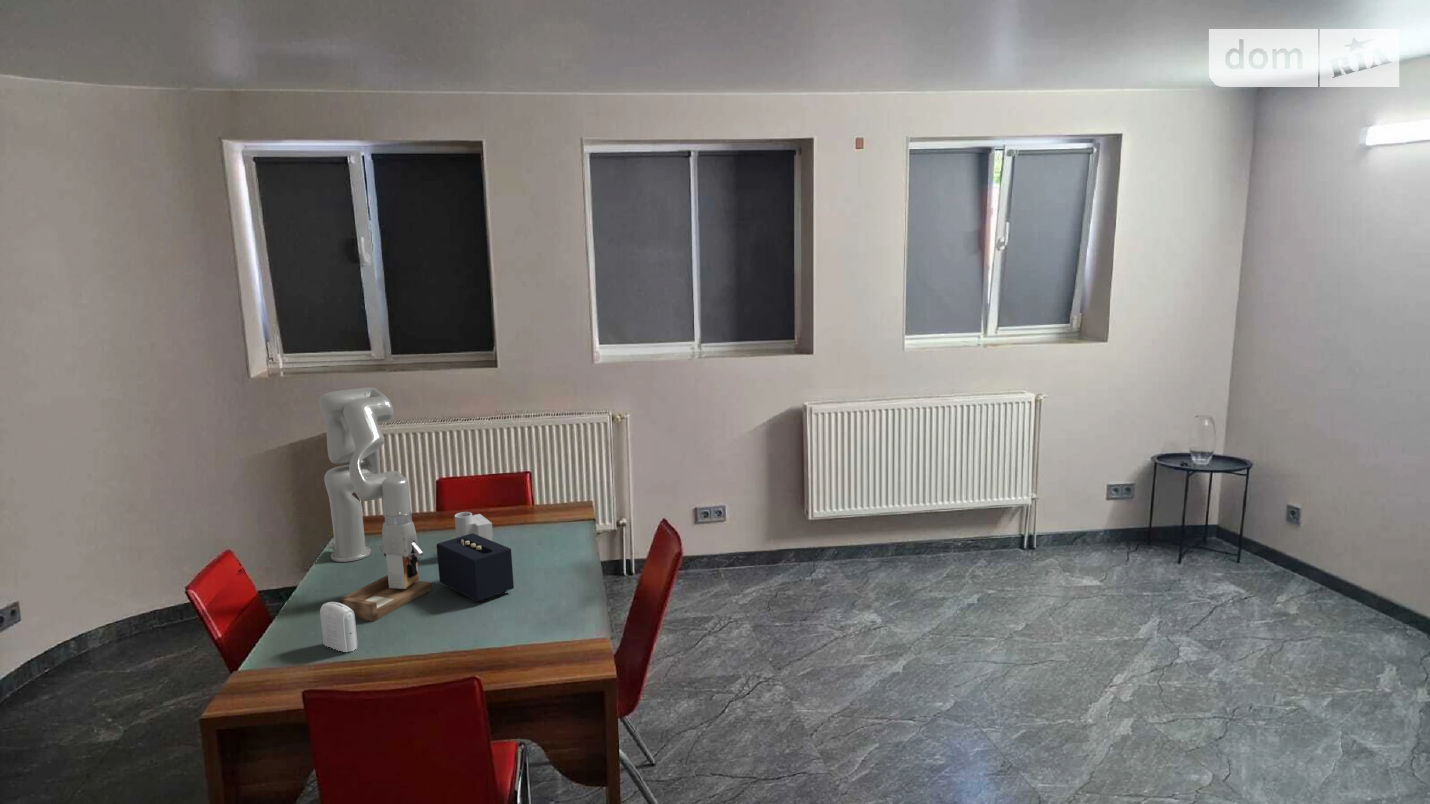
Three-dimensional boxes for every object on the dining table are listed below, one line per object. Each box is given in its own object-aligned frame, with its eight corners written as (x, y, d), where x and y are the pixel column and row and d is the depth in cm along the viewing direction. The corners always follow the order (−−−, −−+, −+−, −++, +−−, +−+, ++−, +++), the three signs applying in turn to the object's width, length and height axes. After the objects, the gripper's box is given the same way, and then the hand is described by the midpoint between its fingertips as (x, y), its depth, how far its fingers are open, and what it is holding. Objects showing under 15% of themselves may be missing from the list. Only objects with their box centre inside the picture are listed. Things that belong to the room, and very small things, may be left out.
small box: (405, 589, 247) (402, 556, 245) (388, 588, 249) (385, 555, 247) (419, 579, 255) (416, 546, 253) (403, 578, 256) (400, 545, 254)
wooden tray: (341, 615, 237) (339, 598, 236) (402, 583, 259) (400, 568, 258) (373, 621, 233) (372, 604, 232) (432, 588, 255) (431, 573, 254)
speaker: (514, 593, 250) (511, 545, 248) (477, 606, 241) (473, 558, 238) (476, 575, 265) (473, 530, 262) (439, 587, 256) (435, 541, 253)
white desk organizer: (494, 557, 280) (491, 514, 277) (452, 566, 272) (449, 523, 269) (482, 547, 290) (479, 506, 287) (441, 556, 282) (438, 513, 279)
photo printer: (360, 648, 217) (356, 604, 215) (346, 655, 214) (341, 610, 211) (335, 640, 222) (330, 596, 220) (321, 646, 219) (315, 602, 216)
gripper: (366, 518, 248) (372, 575, 251) (412, 525, 241) (417, 583, 245) (385, 511, 255) (390, 566, 258) (429, 517, 248) (434, 573, 251)
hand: (403, 574), depth 251 cm, fingers closed on small box, 6 cm apart
